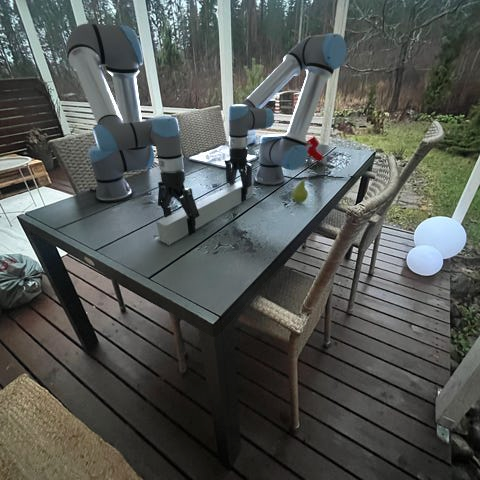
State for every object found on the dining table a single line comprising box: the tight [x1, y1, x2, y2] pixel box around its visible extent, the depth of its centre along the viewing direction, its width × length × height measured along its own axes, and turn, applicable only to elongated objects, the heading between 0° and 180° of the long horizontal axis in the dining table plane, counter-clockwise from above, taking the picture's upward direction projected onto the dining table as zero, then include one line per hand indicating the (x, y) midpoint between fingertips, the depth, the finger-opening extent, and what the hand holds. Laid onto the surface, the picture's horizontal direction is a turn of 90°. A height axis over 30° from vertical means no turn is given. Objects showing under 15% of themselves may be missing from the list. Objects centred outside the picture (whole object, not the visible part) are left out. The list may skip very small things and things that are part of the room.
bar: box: [156, 179, 254, 246], centre depth 110 cm, size 51×5×8 cm, turn 144°
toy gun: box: [306, 135, 324, 163], centre depth 171 cm, size 18×4×15 cm
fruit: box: [291, 174, 311, 204], centre depth 118 cm, size 7×8×12 cm
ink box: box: [248, 130, 256, 145], centre depth 212 cm, size 8×5×12 cm, turn 135°
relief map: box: [188, 144, 258, 169], centre depth 177 cm, size 27×35×5 cm
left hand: (180, 228), depth 98 cm, fingers open, 11 cm apart
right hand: (238, 199), depth 123 cm, fingers closed on bar, 5 cm apart
